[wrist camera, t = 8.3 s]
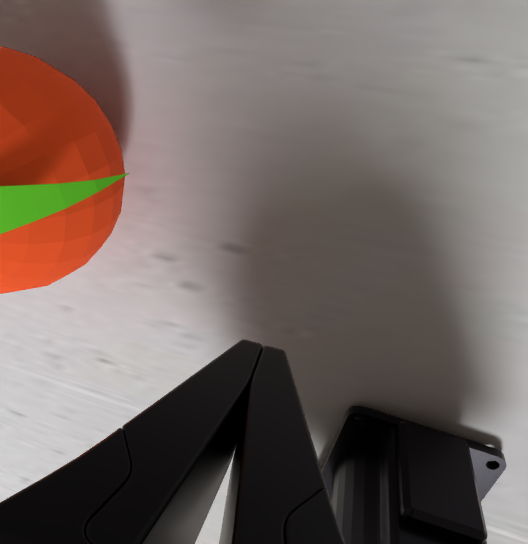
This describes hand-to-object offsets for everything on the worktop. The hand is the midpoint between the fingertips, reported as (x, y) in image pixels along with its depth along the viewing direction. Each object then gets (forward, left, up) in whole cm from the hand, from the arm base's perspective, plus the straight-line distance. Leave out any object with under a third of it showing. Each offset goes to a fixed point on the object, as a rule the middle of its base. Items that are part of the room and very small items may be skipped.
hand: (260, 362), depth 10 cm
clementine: (0, +8, -9) cm, 12 cm away
